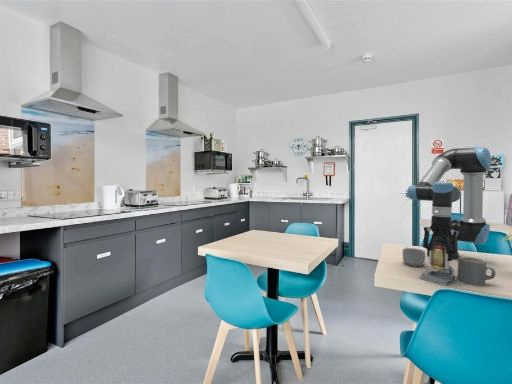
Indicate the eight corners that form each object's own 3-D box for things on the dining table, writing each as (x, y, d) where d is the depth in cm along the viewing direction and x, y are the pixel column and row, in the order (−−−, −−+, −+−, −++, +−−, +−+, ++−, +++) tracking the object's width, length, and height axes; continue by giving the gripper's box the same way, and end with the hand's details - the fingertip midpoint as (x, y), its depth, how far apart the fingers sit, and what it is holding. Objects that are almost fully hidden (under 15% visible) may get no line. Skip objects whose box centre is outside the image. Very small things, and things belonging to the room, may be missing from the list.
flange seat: (435, 272, 141) (436, 262, 141) (461, 278, 132) (462, 268, 132) (420, 278, 131) (420, 268, 131) (446, 286, 122) (447, 275, 122)
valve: (434, 265, 133) (435, 244, 133) (448, 268, 129) (449, 246, 128) (428, 267, 130) (429, 245, 130) (443, 270, 125) (444, 248, 125)
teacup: (428, 268, 146) (428, 253, 146) (405, 267, 148) (406, 252, 148) (418, 260, 160) (418, 247, 160) (397, 259, 162) (398, 245, 162)
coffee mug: (455, 281, 128) (456, 259, 128) (459, 276, 136) (460, 255, 135) (494, 289, 119) (495, 266, 119) (495, 283, 127) (496, 261, 126)
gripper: (415, 213, 134) (413, 262, 135) (462, 219, 118) (460, 273, 119) (422, 213, 138) (420, 259, 139) (469, 217, 123) (466, 270, 124)
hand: (438, 265), depth 129 cm, fingers closed on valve, 6 cm apart
